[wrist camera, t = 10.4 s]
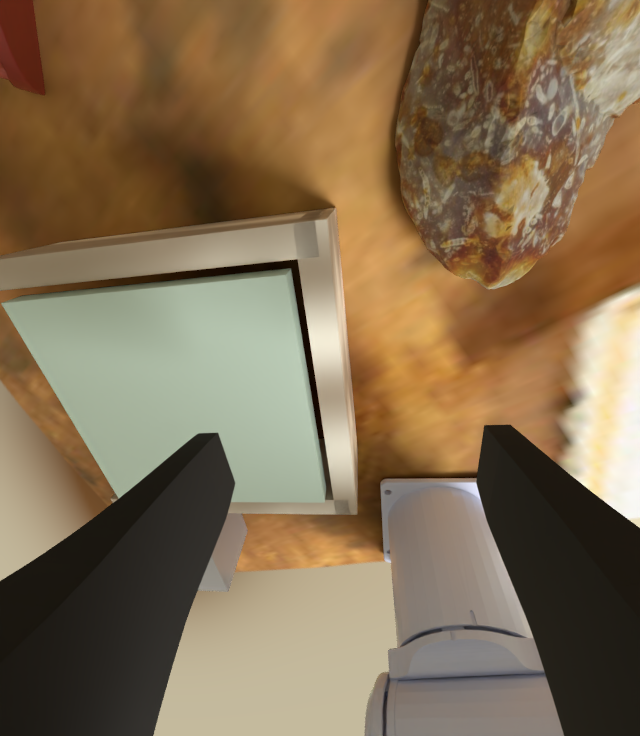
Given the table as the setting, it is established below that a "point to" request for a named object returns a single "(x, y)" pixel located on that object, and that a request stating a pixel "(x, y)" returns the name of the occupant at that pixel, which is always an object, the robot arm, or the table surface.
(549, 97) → the decorative stone
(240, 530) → the granite block
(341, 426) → the frame
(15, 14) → the dentures model
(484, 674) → the robot arm
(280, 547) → the table surface
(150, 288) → the trapdoor
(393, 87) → the table surface
